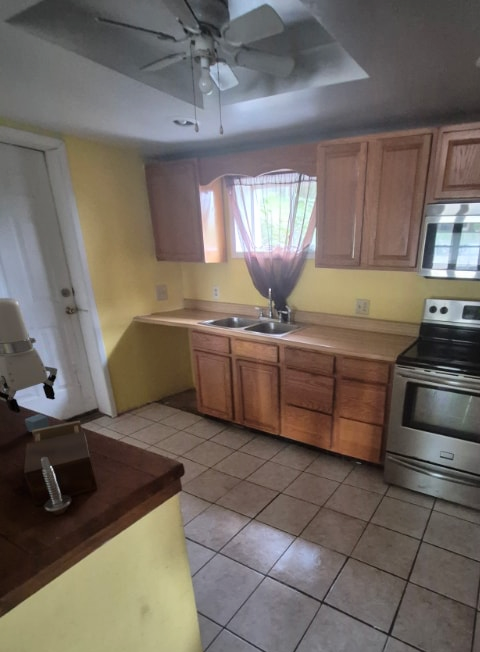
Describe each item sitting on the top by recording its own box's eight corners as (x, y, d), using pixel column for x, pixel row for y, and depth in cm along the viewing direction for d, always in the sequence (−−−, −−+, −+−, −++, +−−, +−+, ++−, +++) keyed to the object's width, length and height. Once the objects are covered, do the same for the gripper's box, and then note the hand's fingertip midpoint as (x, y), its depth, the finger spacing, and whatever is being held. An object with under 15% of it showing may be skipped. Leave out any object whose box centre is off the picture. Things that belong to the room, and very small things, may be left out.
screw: (54, 522, 73) (41, 513, 76) (78, 508, 77) (65, 500, 79) (36, 466, 68) (23, 459, 70) (63, 454, 72) (49, 448, 74)
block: (36, 434, 106) (33, 422, 104) (28, 431, 107) (24, 419, 106) (50, 428, 109) (47, 416, 107) (42, 425, 111) (38, 413, 109)
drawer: (39, 445, 99) (32, 422, 96) (83, 435, 104) (78, 413, 101) (38, 477, 85) (30, 452, 82) (89, 464, 90) (83, 440, 88)
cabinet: (37, 475, 88) (26, 443, 84) (91, 461, 94) (84, 431, 90) (35, 507, 77) (24, 472, 74) (97, 489, 83) (89, 456, 80)
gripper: (39, 337, 107) (55, 392, 114) (-31, 353, 93) (-8, 414, 100) (55, 340, 104) (71, 396, 111) (-15, 357, 90) (9, 420, 97)
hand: (34, 404), depth 105 cm, fingers open, 9 cm apart
